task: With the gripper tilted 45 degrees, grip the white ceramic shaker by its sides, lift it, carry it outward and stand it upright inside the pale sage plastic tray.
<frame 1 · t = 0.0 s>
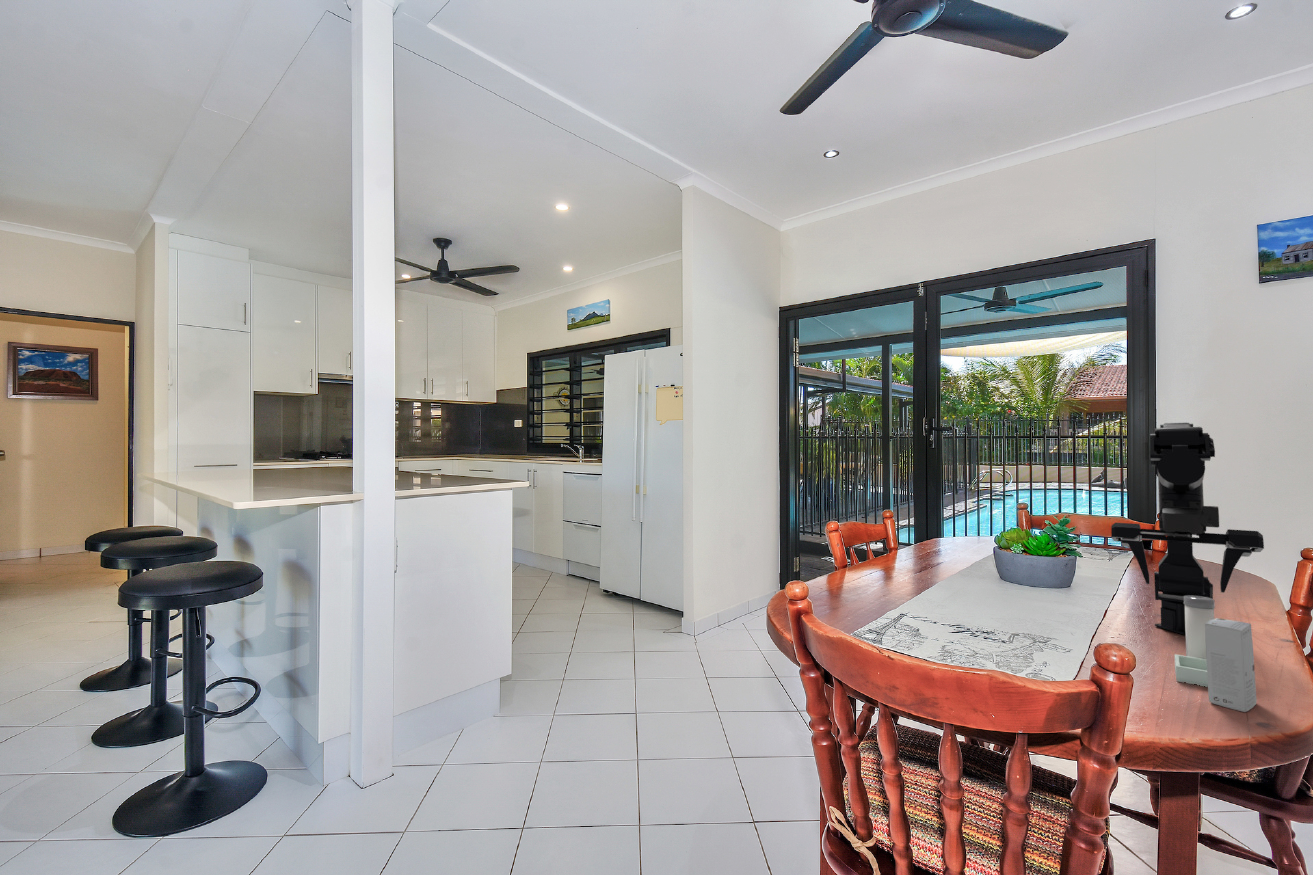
hand: (1184, 587, 95), 15 cm above the table, tool pointing down, fingers open, 9 cm apart
shaker: (1201, 665, 101), on the table
skincare box: (1231, 703, 86), on the table
tray: (1204, 679, 94), on the table
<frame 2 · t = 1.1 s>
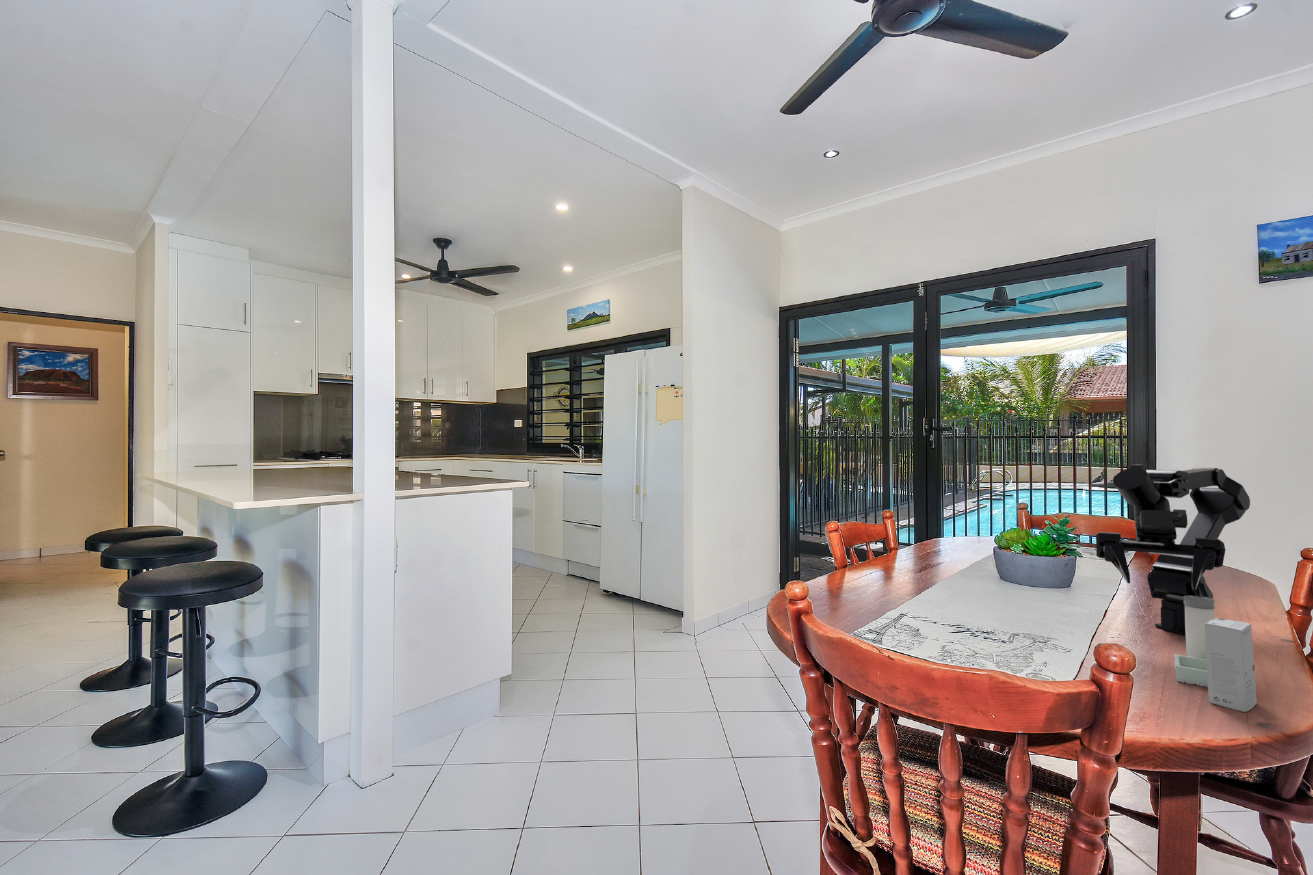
hand: (1160, 585, 106), 13 cm above the table, tool tilted 45°, fingers open, 9 cm apart
nothing on the table moved.
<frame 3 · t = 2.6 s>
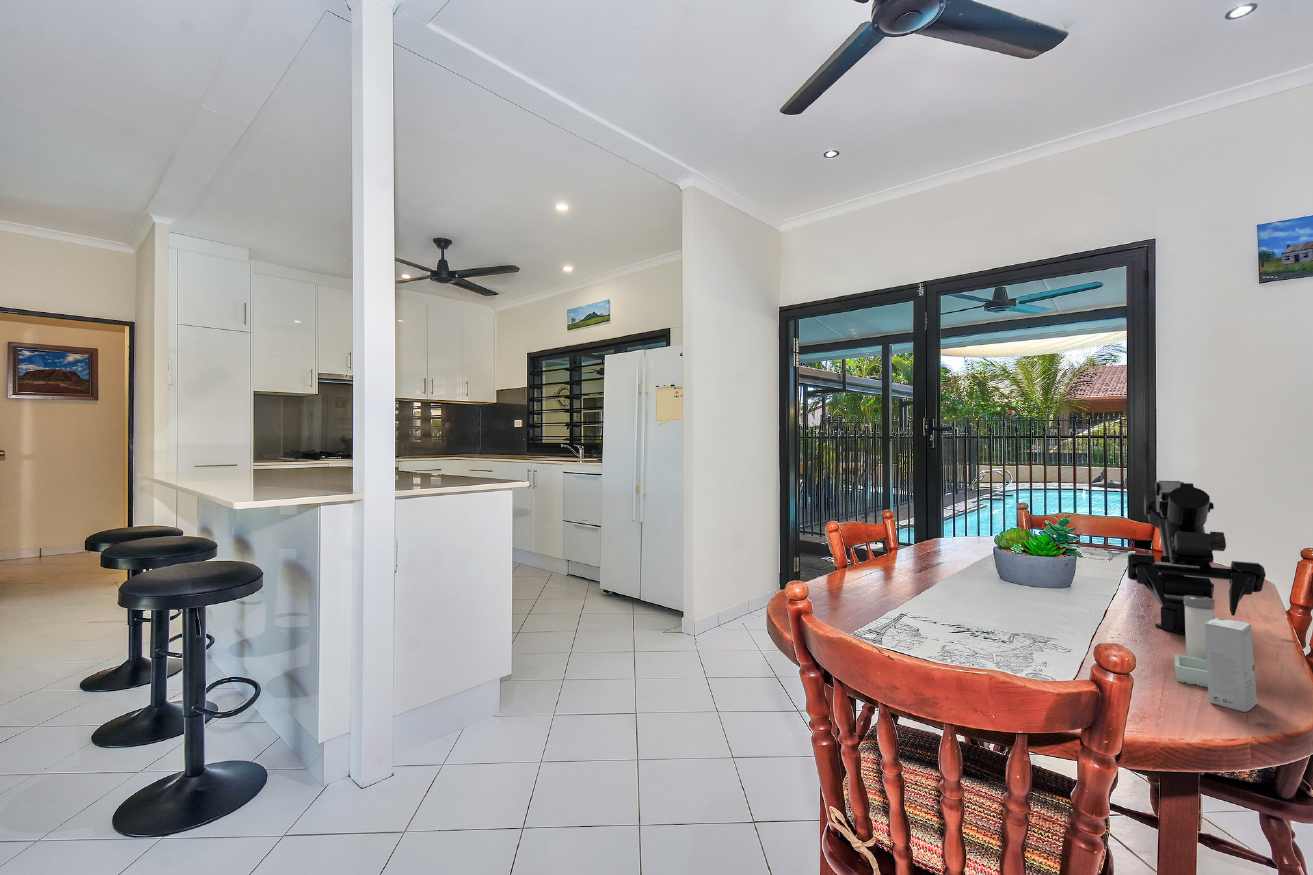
hand: (1197, 610, 102), 9 cm above the table, tool tilted 45°, fingers open, 9 cm apart
nothing on the table moved.
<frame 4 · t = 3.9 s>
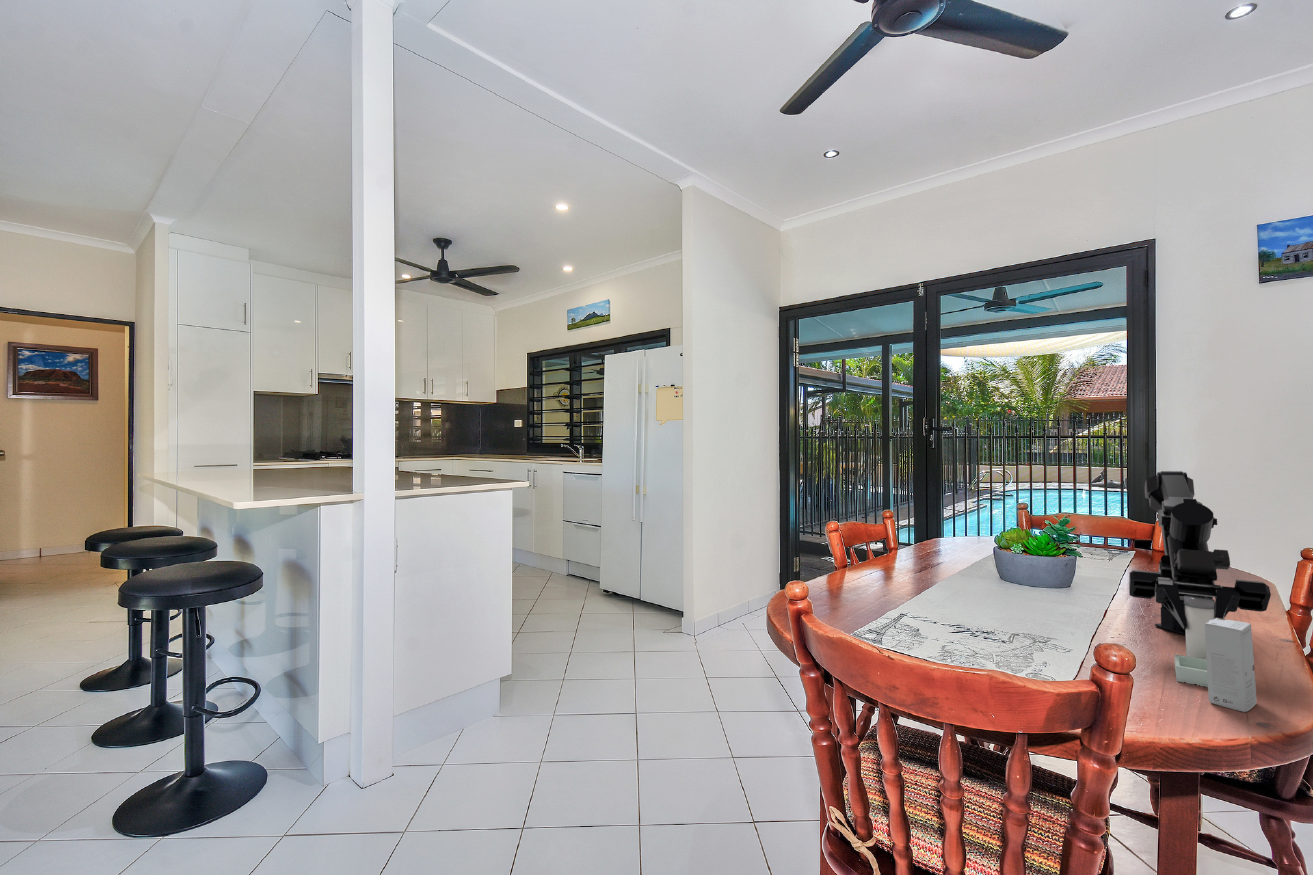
hand: (1201, 630, 100), 7 cm above the table, tool tilted 45°, fingers closed on shaker, 4 cm apart
shaker: (1201, 665, 101), on the table, touching gripper
everything else where it was.
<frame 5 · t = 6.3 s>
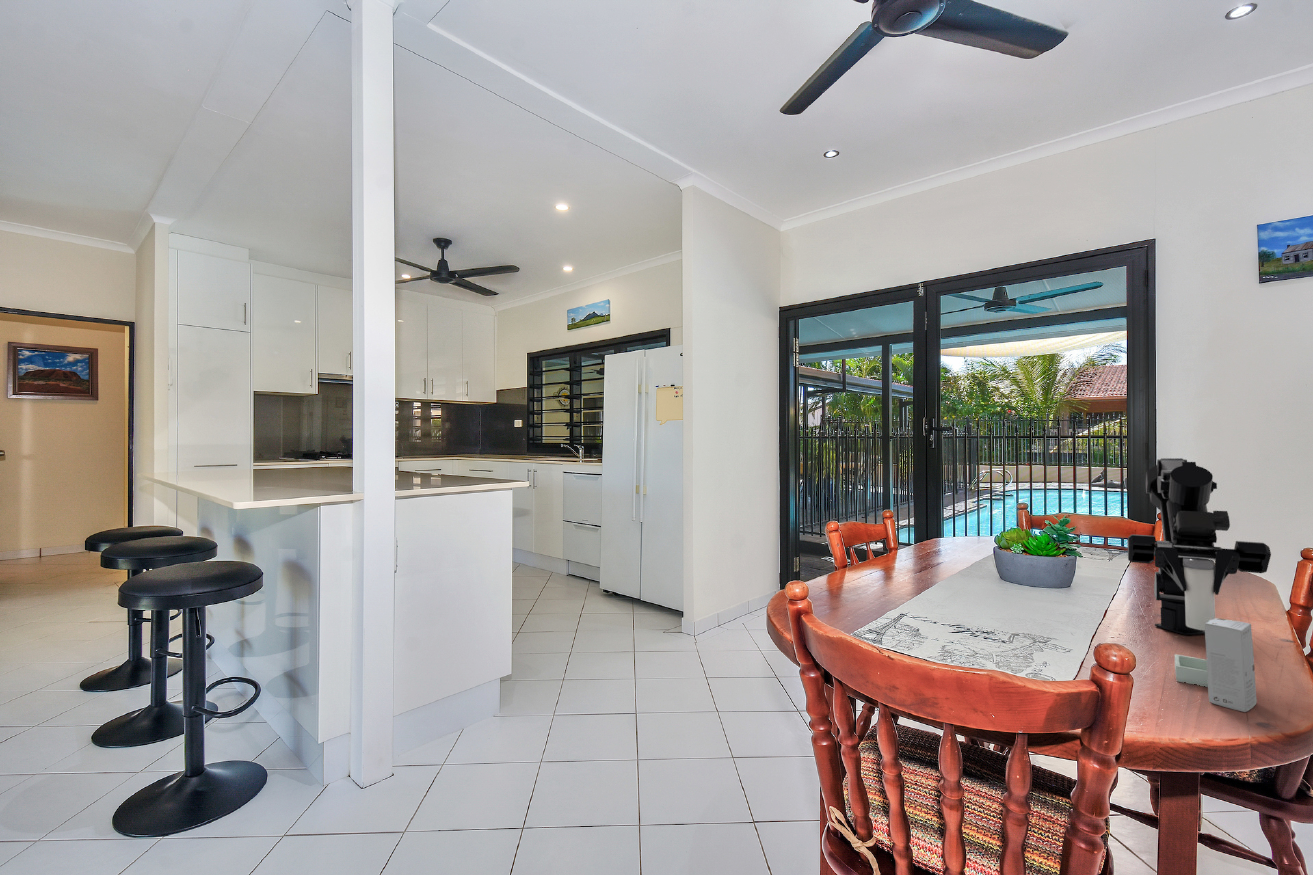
hand: (1200, 591, 99), 14 cm above the table, tool tilted 45°, fingers closed on shaker, 4 cm apart
shaker: (1200, 627, 100), point 7 cm above the table, touching gripper
everything else where it was.
when the fingers open (8 cm above the table, at t = 8.5 s): shaker stays where it is, resting on tray.
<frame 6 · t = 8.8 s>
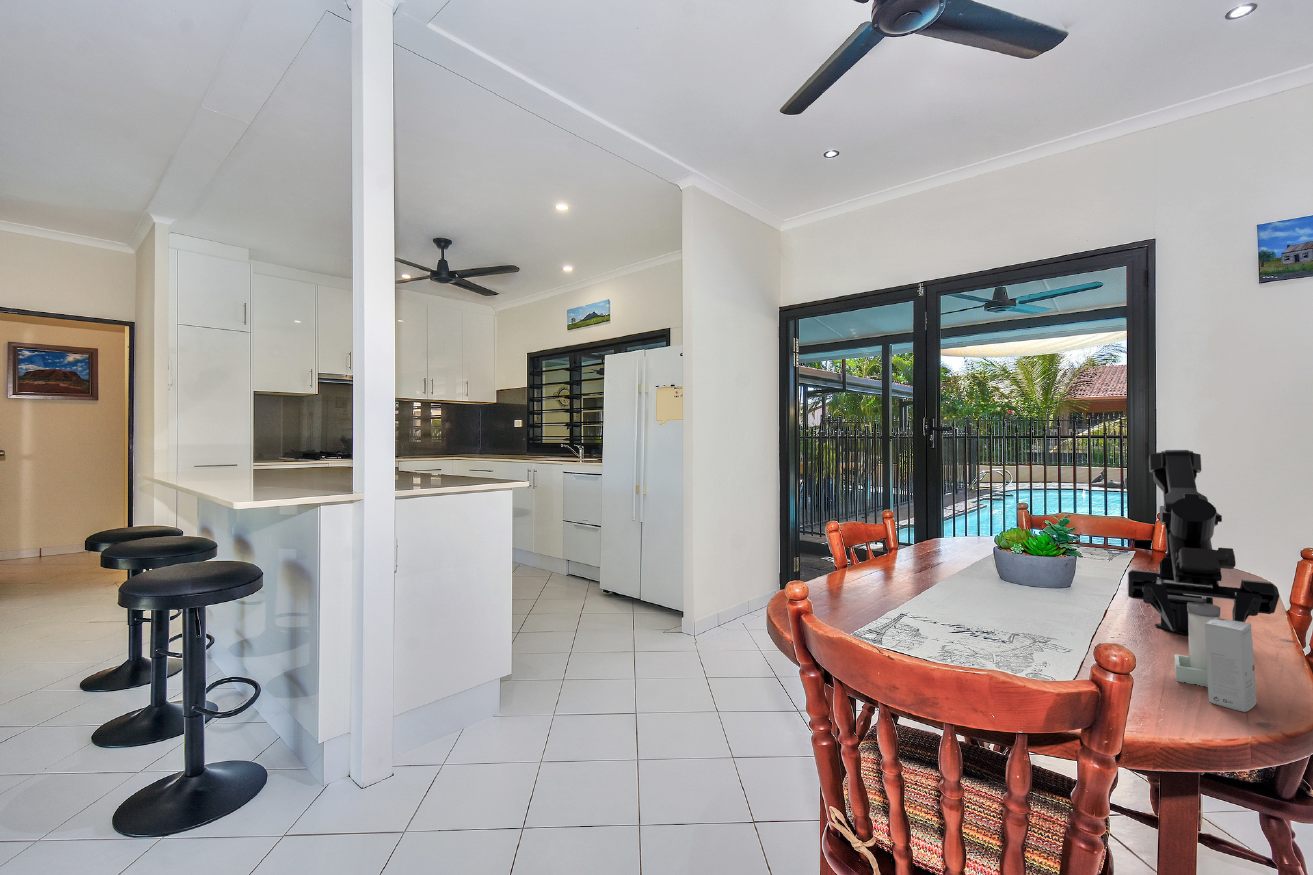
hand: (1204, 633, 94), 8 cm above the table, tool tilted 45°, fingers open, 7 cm apart
shaker: (1204, 676, 95), point 1 cm above the table, touching tray
everything else where it was.
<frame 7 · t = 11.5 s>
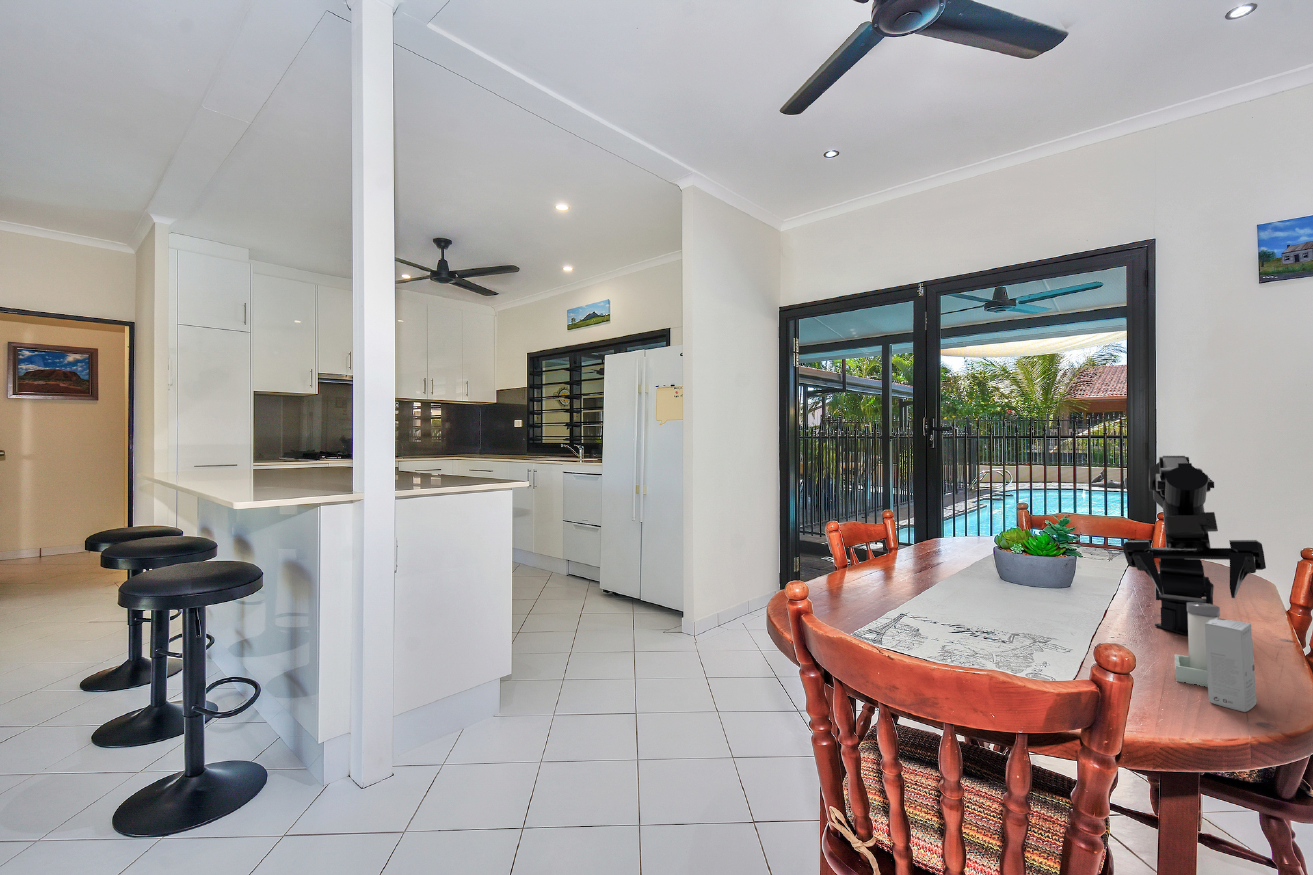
hand: (1196, 595, 100), 13 cm above the table, tool tilted 40°, fingers open, 9 cm apart
nothing on the table moved.
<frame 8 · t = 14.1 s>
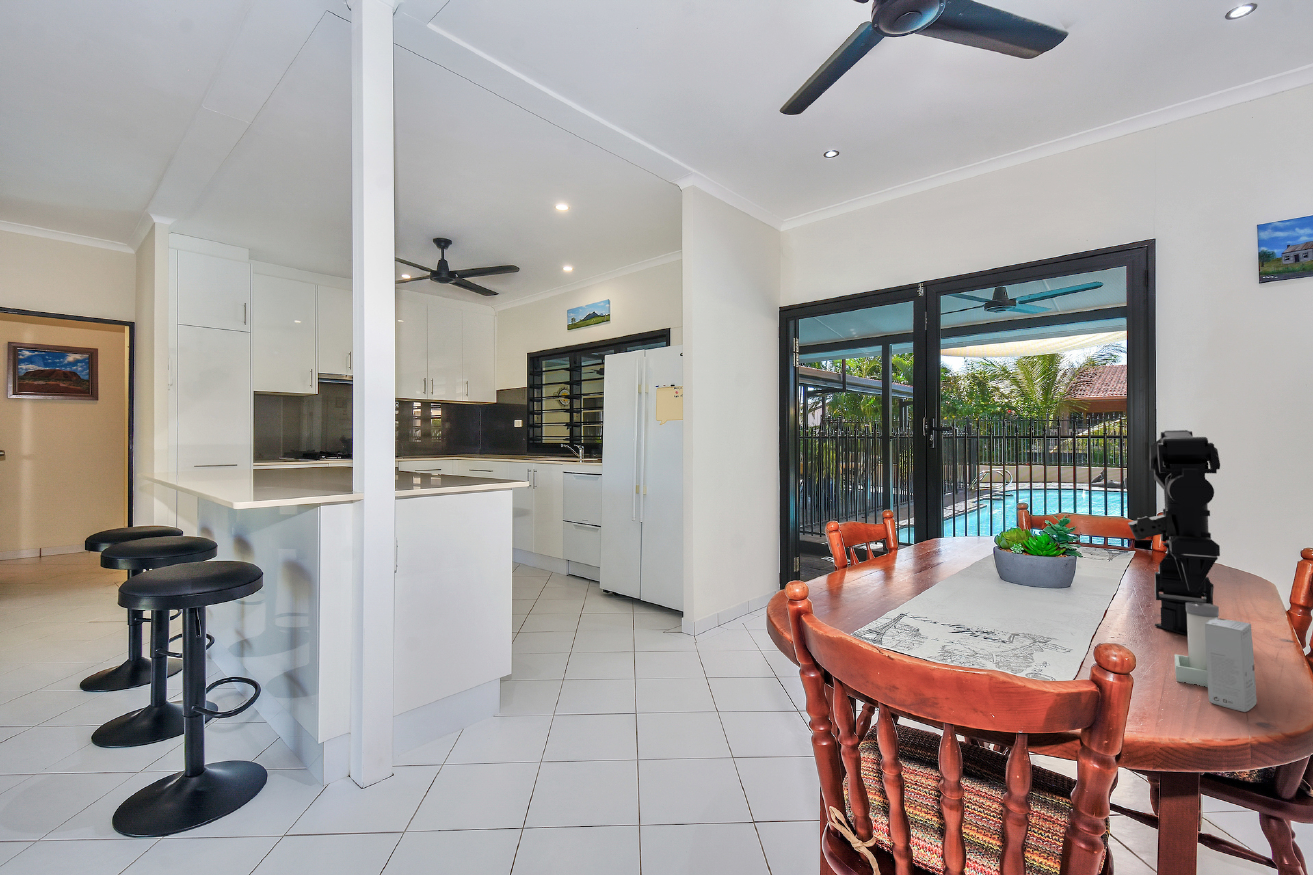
hand: (1189, 586, 105), 13 cm above the table, tool pointing down, fingers open, 9 cm apart
nothing on the table moved.
at the end: shaker 0.1 cm off-centre on the tray, point 0.5 cm above the tray's base; shaker tilted 1°; the gripper is holding nothing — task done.
